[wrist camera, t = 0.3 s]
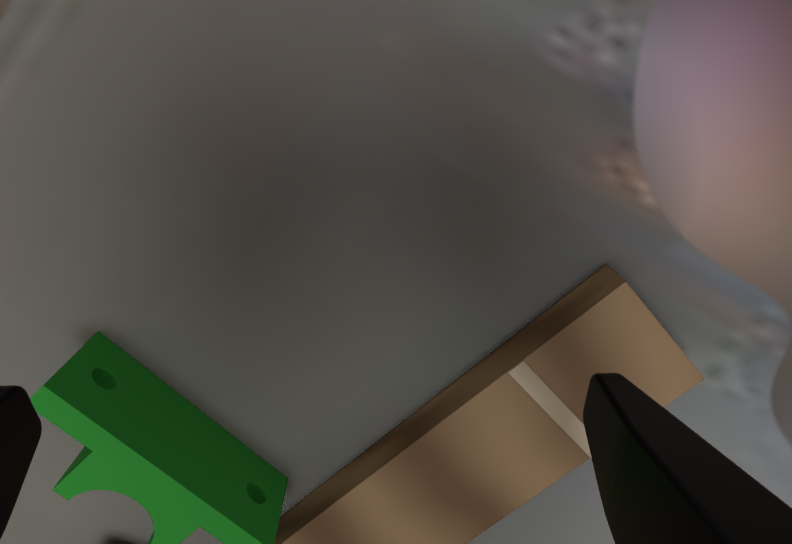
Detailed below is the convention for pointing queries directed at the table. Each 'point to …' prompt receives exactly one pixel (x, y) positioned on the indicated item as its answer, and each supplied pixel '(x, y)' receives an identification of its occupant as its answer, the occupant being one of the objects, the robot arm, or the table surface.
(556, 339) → the brown wooden plank
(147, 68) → the table surface
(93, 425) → the pipe clamp
